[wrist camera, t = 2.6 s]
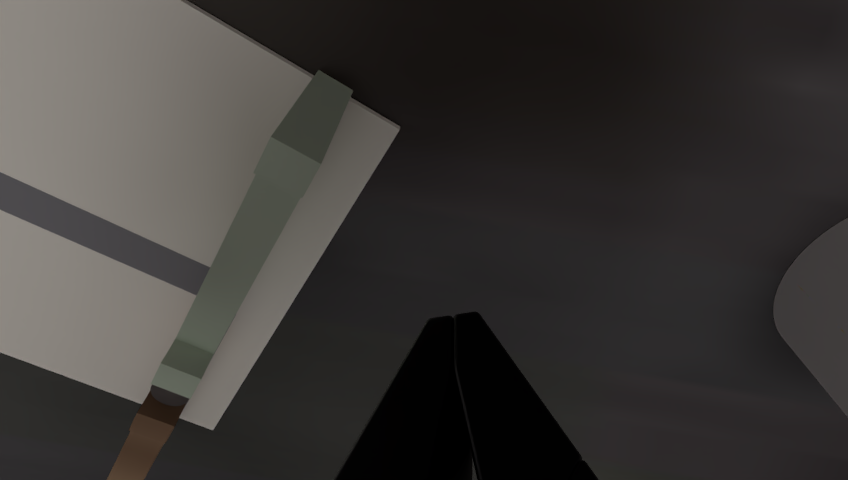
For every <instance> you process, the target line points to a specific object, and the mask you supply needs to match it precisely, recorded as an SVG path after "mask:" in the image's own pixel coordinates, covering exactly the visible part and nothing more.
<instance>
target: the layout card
mask: <svg viewBox="0 0 848 480" xmlns="http://www.w3.org/2000/svg"><path fill="white" fill-rule="evenodd" d="M313 77H314V75H312V74H311V73H309V72H307V71H306V70H304V69H302V68H301V67H299V66H297V65H296V64H294V63H292V62H290V61H289V60H287V59H285V58H284V57H282V56H280V55H279V54H277V53H275V52H274V51H272V50H270V49H269V48H267V47H265V46H263V45H262V44H260V43H258V42H257V41H255V40H253V39H252V38H250V37H248V36H247V35H245V34H243V33H241V32H240V31H238V30H236V29H235V28H233V27H231V26H230V25H228V24H226V23H225V22H223V21H221V20H220V19H218V18H216V17H214V16H213V15H211V14H209V13H208V12H206V11H204V10H203V9H201V8H199V7H198V6H196V5H194V4H192V3H191V2H189V1H187V0H0V352H1V353H3V354H6V355H9V356H12V357H14V358H17V359H20V360H23V361H25V362H28V363H31V364H33V365H36V366H39V367H42V368H44V369H47V370H50V371H53V372H55V373H58V374H61V375H63V376H66V377H69V378H72V379H74V380H77V381H80V382H82V383H85V384H88V385H91V386H93V387H96V388H99V389H102V390H104V391H107V392H110V393H112V394H115V395H118V396H121V397H123V398H126V399H129V400H132V401H134V402H137V403H140V404H143V402H144V400H145V399H146V397H147V395H148V393H149V392H150V388H151V386H152V384H151V382H152V380H153V378H154V376H155V374H156V372H157V370H158V368H159V366H160V364H161V362H162V360H163V359H164V357H165V355H166V354H167V352H168V350H169V349H170V347H171V345H172V344H173V342H174V340H175V338H176V336H177V334H178V332H179V330H180V328H181V326H182V324H183V322H184V320H185V318H186V316H187V314H188V312H189V310H190V308H191V306H192V304H193V302H194V300H195V298H196V296H197V294H198V291H199V289H200V287H201V285H202V283H203V281H204V279H205V277H206V275H207V273H208V271H209V269H210V267H211V265H212V263H213V261H214V259H215V257H216V255H217V253H218V251H219V249H220V247H221V244H222V242H223V240H224V238H225V236H226V234H227V232H228V230H229V228H230V226H231V224H232V222H233V220H234V218H235V216H236V214H237V212H238V210H239V208H240V206H241V204H242V202H243V200H244V198H245V195H246V193H247V191H248V189H249V187H250V185H251V183H252V181H253V179H254V177H255V175H256V174H254V173H253V172H254V170H255V168H256V166H257V164H258V162H259V160H260V158H261V156H262V154H263V152H264V149H265V147H266V145H267V143H268V141H269V139H270V137H271V136H272V134H273V133H274V131H275V130H276V129H277V127H278V126H279V124H280V123H281V122H282V120H283V119H284V117H285V116H286V115H287V113H288V112H289V110H290V109H291V108H292V106H293V105H294V103H295V102H296V101H297V99H298V98H299V96H300V95H301V94H302V92H303V91H304V89H305V88H306V87H307V85H308V84H309V83H310V81H311V80H312V78H313ZM399 130H400V126H399V125H397V124H395V123H394V122H392V121H390V120H388V119H387V118H385V117H383V116H382V115H380V114H378V113H377V112H375V111H373V110H372V109H370V108H368V107H366V106H365V105H363V104H361V103H360V102H358V101H356V100H355V99H353V98H351V97H350V100H349V102H348V104H347V106H346V109H345V111H344V113H343V116H342V118H341V120H340V122H339V125H338V127H337V129H336V132H335V134H334V136H333V138H332V141H331V143H330V145H329V148H328V150H327V152H326V154H325V157H324V159H323V161H322V164H321V165H320V167H319V169H318V171H317V173H316V174H315V176H314V178H313V180H312V182H311V183H310V185H309V187H308V189H307V191H306V192H305V194H304V196H303V198H300V200H299V201H298V203H297V205H296V207H295V209H294V210H293V212H292V214H291V216H290V218H289V219H288V221H287V223H286V225H285V227H284V228H283V230H282V232H281V234H280V236H279V237H278V239H277V241H276V243H275V245H274V246H273V248H272V250H271V252H270V254H269V255H268V257H267V259H266V261H265V263H264V264H263V266H262V268H261V270H260V272H259V273H258V275H257V277H256V279H255V281H254V282H253V284H252V286H251V288H250V290H249V292H248V293H247V295H246V297H245V299H244V301H243V302H242V304H241V306H240V308H239V310H238V311H237V313H236V315H235V317H234V319H233V320H232V322H231V324H230V326H229V328H228V329H227V331H226V333H225V335H224V337H223V338H222V340H221V342H220V344H219V346H218V347H217V349H216V351H215V353H214V355H213V357H212V359H211V361H210V363H209V365H208V367H207V369H206V371H205V373H204V375H203V377H202V379H201V381H200V383H199V384H198V386H197V388H196V390H195V391H194V393H193V395H192V397H191V399H189V401H188V402H187V403H186V405H185V407H184V409H183V411H182V413H181V415H180V417H179V418H181V419H183V420H186V421H189V422H191V423H194V424H197V425H200V426H202V427H205V428H208V429H211V430H213V429H214V428H215V426H216V425H217V423H218V421H219V420H220V418H221V417H222V415H223V413H224V412H225V410H226V409H227V407H228V405H229V404H230V402H231V401H232V399H233V397H234V396H235V394H236V393H237V391H238V389H239V388H240V386H241V384H242V383H243V381H244V380H245V378H246V376H247V375H248V373H249V372H250V370H251V368H252V367H253V365H254V364H255V362H256V360H257V359H258V357H259V356H260V354H261V352H262V351H263V349H264V347H265V346H266V344H267V343H268V341H269V339H270V338H271V336H272V335H273V333H274V331H275V330H276V328H277V327H278V325H279V323H280V322H281V320H282V319H283V317H284V315H285V314H286V312H287V310H288V309H289V307H290V306H291V304H292V302H293V301H294V299H295V298H296V296H297V294H298V293H299V291H300V290H301V288H302V286H303V285H304V283H305V282H306V280H307V278H308V277H309V275H310V273H311V272H312V270H313V269H314V267H315V265H316V264H317V262H318V261H319V259H320V257H321V256H322V254H323V253H324V251H325V249H326V248H327V246H328V245H329V243H330V241H331V240H332V238H333V237H334V235H335V233H336V232H337V230H338V228H339V227H340V225H341V224H342V222H343V220H344V219H345V217H346V216H347V214H348V212H349V211H350V209H351V208H352V206H353V204H354V203H355V201H356V200H357V198H358V196H359V195H360V193H361V191H362V190H363V188H364V187H365V185H366V183H367V182H368V180H369V179H370V177H371V175H372V174H373V172H374V171H375V169H376V167H377V166H378V164H379V163H380V161H381V159H382V158H383V156H384V154H385V153H386V151H387V150H388V148H389V146H390V145H391V143H392V142H393V140H394V138H395V137H396V135H397V134H398V132H399Z"/></svg>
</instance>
